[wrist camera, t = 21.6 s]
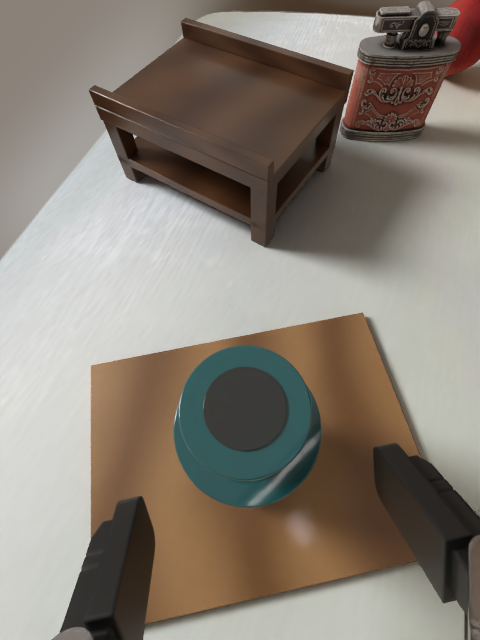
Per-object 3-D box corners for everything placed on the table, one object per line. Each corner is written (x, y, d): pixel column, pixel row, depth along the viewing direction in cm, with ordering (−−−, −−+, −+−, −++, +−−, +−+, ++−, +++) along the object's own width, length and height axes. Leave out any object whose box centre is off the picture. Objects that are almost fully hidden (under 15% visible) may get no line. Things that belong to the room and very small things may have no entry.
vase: (237, 385, 23) (222, 294, 13) (314, 435, 22) (371, 380, 11) (185, 462, 21) (112, 433, 11) (264, 523, 20) (275, 562, 9)
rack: (332, 163, 33) (354, 69, 26) (265, 248, 29) (268, 166, 22) (199, 110, 38) (185, 17, 30) (124, 177, 33) (87, 89, 26)
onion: (464, 60, 40) (510, -35, 32) (477, 91, 37) (530, -5, 30) (412, 61, 40) (446, -33, 33) (421, 91, 37) (460, -3, 30)
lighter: (418, 118, 36) (472, -7, 27) (424, 140, 34) (485, 15, 25) (338, 120, 36) (365, -4, 27) (341, 142, 34) (371, 19, 25)
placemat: (361, 315, 26) (363, 312, 25) (454, 549, 19) (459, 551, 19) (93, 367, 25) (90, 365, 24) (94, 633, 18) (90, 637, 18)
